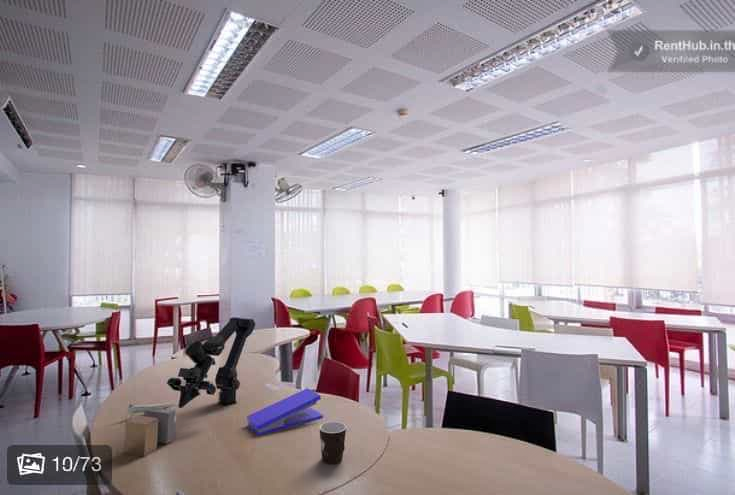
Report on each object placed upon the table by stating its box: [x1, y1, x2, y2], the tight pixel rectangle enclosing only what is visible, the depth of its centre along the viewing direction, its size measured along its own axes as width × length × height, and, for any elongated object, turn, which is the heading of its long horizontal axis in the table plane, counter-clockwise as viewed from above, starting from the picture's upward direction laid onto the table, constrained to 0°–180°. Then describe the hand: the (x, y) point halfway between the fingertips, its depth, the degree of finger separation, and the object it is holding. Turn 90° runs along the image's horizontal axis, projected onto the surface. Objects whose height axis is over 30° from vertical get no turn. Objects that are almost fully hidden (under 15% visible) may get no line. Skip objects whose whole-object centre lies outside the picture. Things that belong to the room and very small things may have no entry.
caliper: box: [125, 402, 177, 421], centre depth 155 cm, size 20×1×6 cm, turn 151°
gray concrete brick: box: [143, 407, 176, 445], centre depth 130 cm, size 3×10×10 cm, turn 76°
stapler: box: [246, 388, 324, 436], centre depth 148 cm, size 12×28×10 cm, turn 129°
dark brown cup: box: [318, 421, 347, 465], centre depth 118 cm, size 12×9×10 cm
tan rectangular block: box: [123, 414, 177, 457], centre depth 128 cm, size 16×8×10 cm, turn 166°
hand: (179, 407), depth 139 cm, fingers closed
